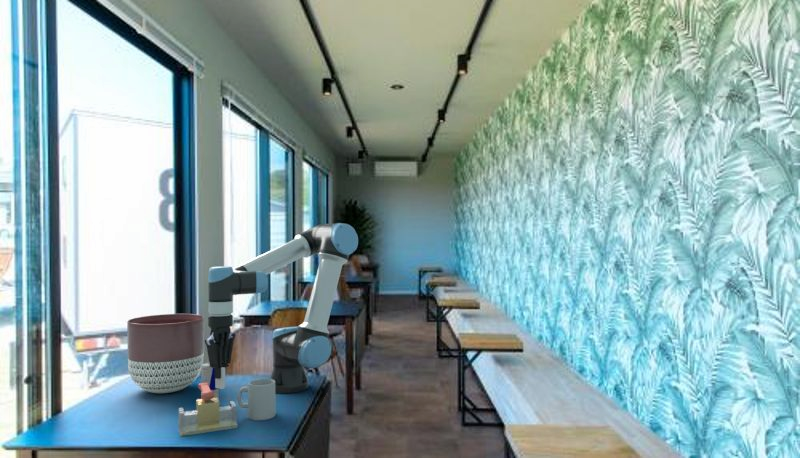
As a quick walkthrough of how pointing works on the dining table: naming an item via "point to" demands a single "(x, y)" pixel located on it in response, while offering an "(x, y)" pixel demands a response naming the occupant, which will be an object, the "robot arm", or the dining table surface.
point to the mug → (259, 399)
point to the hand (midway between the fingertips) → (220, 387)
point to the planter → (165, 351)
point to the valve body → (207, 417)
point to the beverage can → (209, 378)
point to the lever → (206, 391)
